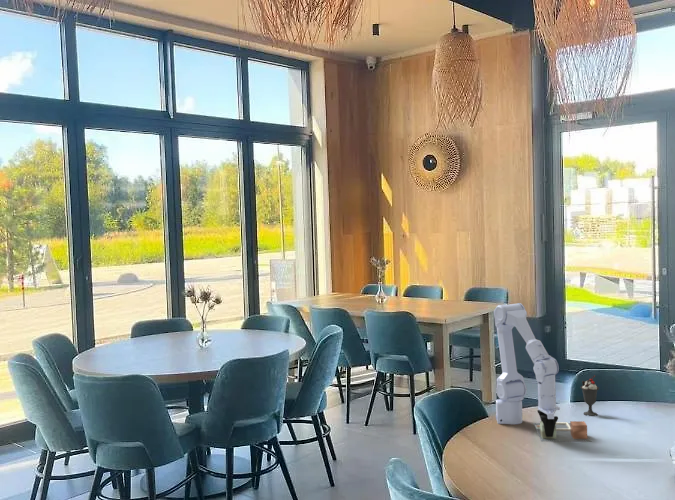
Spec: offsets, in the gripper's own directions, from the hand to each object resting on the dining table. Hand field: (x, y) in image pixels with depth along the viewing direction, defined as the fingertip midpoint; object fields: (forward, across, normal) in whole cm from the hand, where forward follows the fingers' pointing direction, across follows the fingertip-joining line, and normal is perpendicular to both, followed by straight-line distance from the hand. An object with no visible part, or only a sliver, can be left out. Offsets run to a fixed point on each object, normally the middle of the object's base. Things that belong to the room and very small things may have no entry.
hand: (548, 434), depth 222 cm
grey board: (+2, +5, -5) cm, 7 cm away
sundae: (+2, +29, -20) cm, 35 cm away
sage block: (+1, 0, 0) cm, 1 cm away
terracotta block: (+1, 0, -10) cm, 10 cm away
